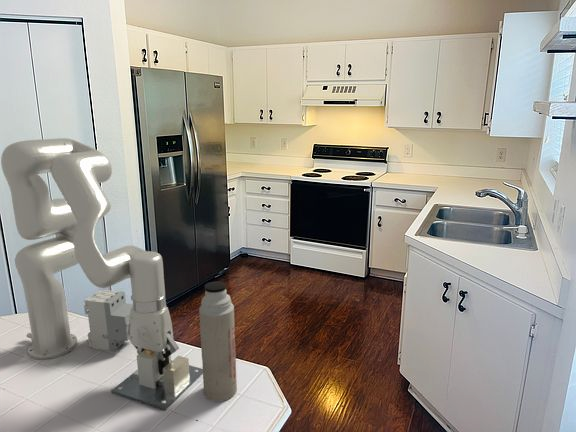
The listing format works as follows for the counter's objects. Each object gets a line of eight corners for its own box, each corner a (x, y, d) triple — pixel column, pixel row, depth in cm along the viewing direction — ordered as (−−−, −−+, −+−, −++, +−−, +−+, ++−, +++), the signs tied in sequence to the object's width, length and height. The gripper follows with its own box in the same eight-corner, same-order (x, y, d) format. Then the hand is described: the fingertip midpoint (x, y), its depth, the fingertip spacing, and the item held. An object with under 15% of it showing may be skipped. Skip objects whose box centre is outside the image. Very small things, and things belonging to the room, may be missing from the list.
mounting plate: (111, 393, 102) (108, 368, 101) (155, 358, 117) (153, 336, 115) (164, 410, 96) (162, 384, 95) (204, 371, 111) (203, 348, 109)
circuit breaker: (134, 353, 119) (129, 304, 116) (89, 348, 122) (83, 300, 118) (147, 339, 126) (143, 293, 123) (105, 334, 129) (99, 289, 125)
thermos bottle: (242, 384, 106) (239, 280, 99) (227, 405, 98) (222, 294, 91) (214, 378, 108) (209, 276, 101) (197, 397, 101) (190, 289, 94)
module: (139, 384, 104) (136, 352, 102) (158, 369, 111) (155, 338, 109) (153, 389, 103) (150, 356, 101) (172, 373, 109) (169, 341, 107)
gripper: (110, 303, 102) (118, 369, 106) (168, 316, 95) (173, 386, 100) (133, 291, 108) (139, 354, 113) (188, 302, 102) (192, 368, 106)
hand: (155, 368), depth 106 cm, fingers open, 5 cm apart
